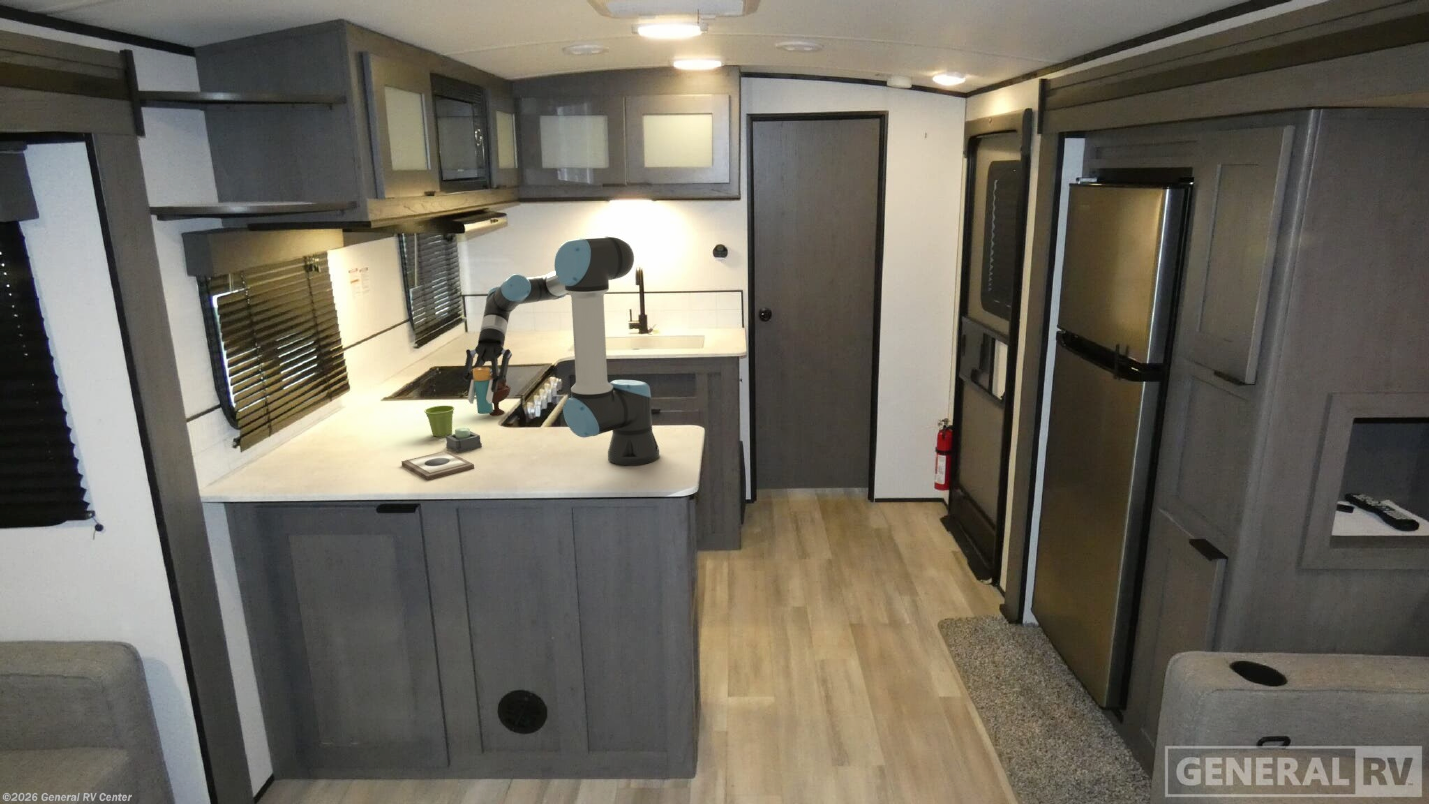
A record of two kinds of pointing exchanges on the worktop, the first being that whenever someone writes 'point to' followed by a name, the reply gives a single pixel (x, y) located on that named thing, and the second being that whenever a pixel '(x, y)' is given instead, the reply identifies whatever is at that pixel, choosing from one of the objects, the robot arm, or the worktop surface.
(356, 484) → the worktop surface
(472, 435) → the button housing
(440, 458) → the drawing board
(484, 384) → the orange-topped post
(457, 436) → the button
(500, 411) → the ice cream bowl
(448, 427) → the plant pot
